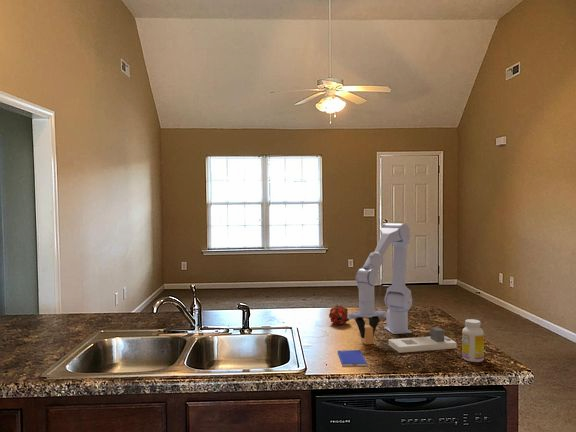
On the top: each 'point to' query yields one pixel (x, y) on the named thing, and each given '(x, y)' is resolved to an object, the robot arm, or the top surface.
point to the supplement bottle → (473, 341)
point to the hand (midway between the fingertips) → (367, 337)
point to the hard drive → (351, 358)
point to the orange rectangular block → (368, 335)
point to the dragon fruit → (338, 315)
